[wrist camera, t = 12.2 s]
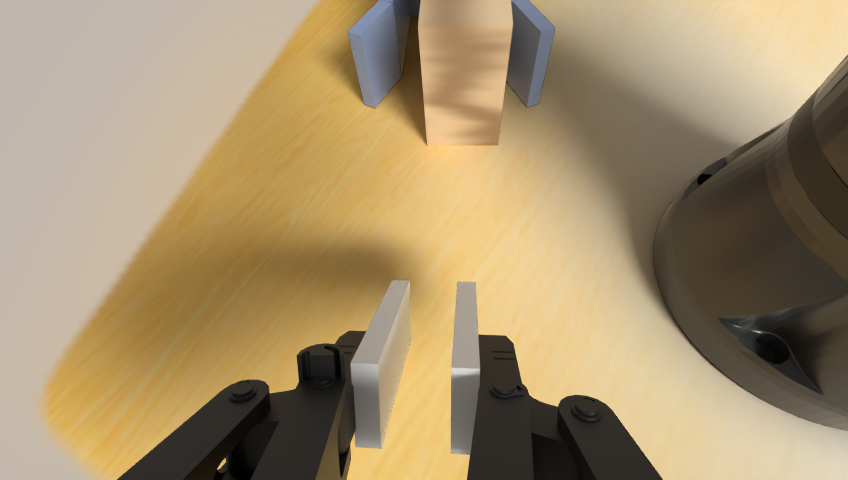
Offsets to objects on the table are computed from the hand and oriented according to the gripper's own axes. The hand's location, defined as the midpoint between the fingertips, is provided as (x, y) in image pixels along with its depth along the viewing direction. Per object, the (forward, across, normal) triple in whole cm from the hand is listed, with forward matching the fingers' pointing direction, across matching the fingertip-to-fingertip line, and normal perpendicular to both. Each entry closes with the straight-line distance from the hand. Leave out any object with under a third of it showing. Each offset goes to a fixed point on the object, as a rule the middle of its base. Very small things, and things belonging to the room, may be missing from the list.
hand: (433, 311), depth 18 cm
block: (+18, +1, +11) cm, 21 cm away
